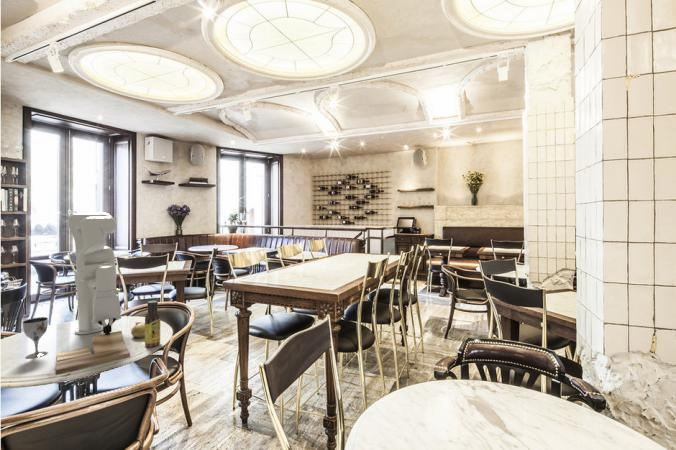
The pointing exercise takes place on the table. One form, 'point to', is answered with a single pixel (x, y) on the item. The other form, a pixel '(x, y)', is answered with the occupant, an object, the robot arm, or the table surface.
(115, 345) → the oak plank
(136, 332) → the onion
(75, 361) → the walnut board
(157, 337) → the sauce bottle
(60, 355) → the oak plank
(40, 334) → the wine glass
